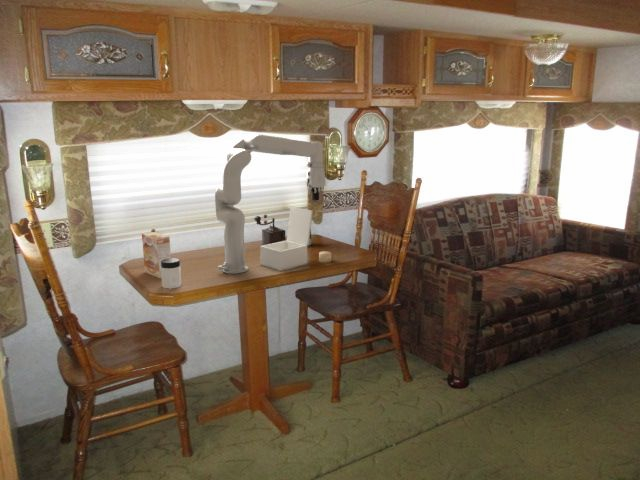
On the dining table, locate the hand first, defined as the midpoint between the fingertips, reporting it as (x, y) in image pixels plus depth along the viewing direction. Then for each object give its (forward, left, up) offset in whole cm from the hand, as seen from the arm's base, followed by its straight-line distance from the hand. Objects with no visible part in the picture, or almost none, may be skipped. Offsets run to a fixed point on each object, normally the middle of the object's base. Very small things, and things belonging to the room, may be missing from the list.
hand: (315, 199), depth 286 cm
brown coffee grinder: (-2, +37, -31) cm, 49 cm away
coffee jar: (+13, +24, -31) cm, 42 cm away
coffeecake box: (-77, +31, -31) cm, 89 cm away
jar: (-82, +9, -31) cm, 88 cm away
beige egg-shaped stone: (-3, -10, -31) cm, 33 cm away
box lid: (-12, 0, -13) cm, 18 cm away
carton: (-23, 0, -31) cm, 39 cm away
